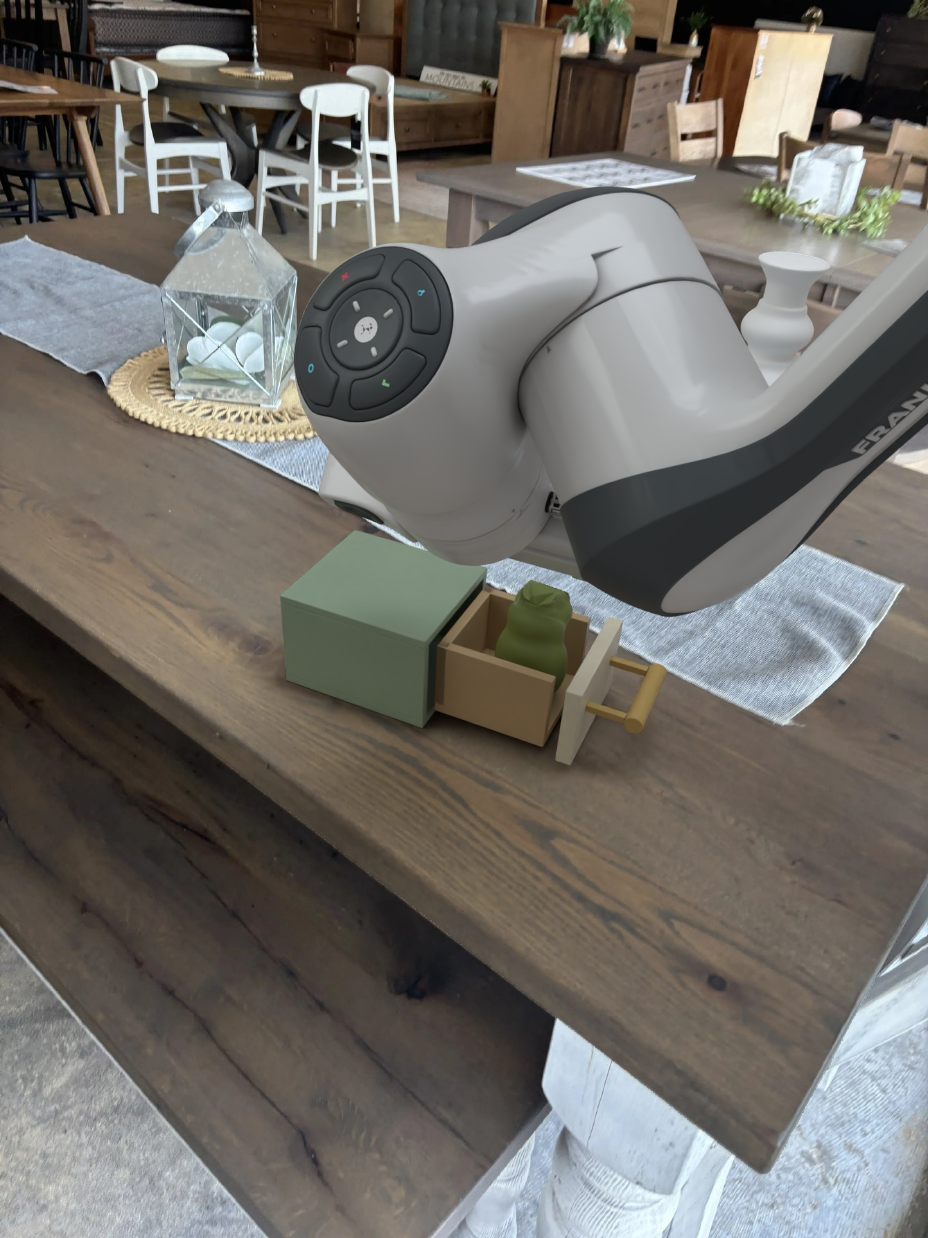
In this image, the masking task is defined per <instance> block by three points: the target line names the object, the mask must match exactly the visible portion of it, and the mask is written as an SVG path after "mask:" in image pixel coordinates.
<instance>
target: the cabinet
mask: <svg viewBox="0 0 928 1238" xmlns="http://www.w3.org/2000/svg"><path fill="white" fill-rule="evenodd" d="M487 577H488V567H487V566H484V565H481V566H465V565H458V564H454V563H450V562H448V561H445V560H443V559H441V558H439V557H437V556H435V555H433V554H432V553H430V552H429V551H428V550H427V549H424V548H419V547H416V546H412V545H409V544H405V543H402V542H399V541H395V540H392V539H388V538H386V537H385V538H384V537H381V536H377V535H375V534H370V533H367V532H364V531H360V530H356V529H354V530H353V531H352V532H350V533H349V534H348V535H347V536H346V537H345V538H344V539H343V540H341V541H340V542H339V543H337V545H336V546H334V547H333V548H332V549H331V550H330V551H329V552H327V554H325V555H324V556H323V557H322V558H320V560H319V561H317V562H316V563H315V564H314V565H313V566H311V568H309V569H308V570H307V571H306V572H305V573H304V574H302V575H301V576H300V577H299V578H298V579H297V580H296V581H294V582H293V584H291V585H290V586H289V587H288V588H286V589H285V590H284V591H283V592H282V593H281V594H280V595H279V599H280V600H279V601H280V602H279V603H280V614H281V627H282V640H283V652H284V665H285V666H284V667H285V680H286V681H288V682H290V683H293V684H295V685H299V686H301V687H305V688H307V689H310V690H313V691H316V692H318V693H321V694H325V695H327V696H330V697H333V698H335V699H338V700H341V701H344V702H347V703H349V704H353V705H355V706H358V707H361V708H364V709H366V710H370V711H372V712H375V713H378V714H381V715H383V716H387V717H389V718H392V719H395V720H398V721H401V722H403V723H406V724H410V725H412V726H414V727H417V728H421V729H423V728H424V727H425V725H426V724H427V723H428V721H429V720H430V719H431V717H432V716H433V714H434V713H435V712H436V710H435V684H436V662H437V645H438V644H439V643H440V642H441V641H442V639H443V638H444V637H445V636H446V634H447V633H448V632H449V631H450V629H451V628H452V627H453V626H454V624H455V623H456V622H457V621H458V620H459V618H460V617H461V616H462V615H463V613H464V612H465V611H466V610H467V608H468V607H469V606H470V605H471V604H472V602H473V601H474V600H475V599H476V597H477V596H478V595H479V594H480V592H481V591H482V590H483V589H484V587H487V579H488V578H487Z"/></svg>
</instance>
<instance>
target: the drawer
mask: <svg viewBox="0 0 928 1238" xmlns="http://www.w3.org/2000/svg"><path fill="white" fill-rule="evenodd" d="M516 595H517V594H516ZM516 595H515V594H513V593H512V594H511V593H509V592H506V591H502V590H499V589H495V588H492V587H489V586H486V587H484V589H483V590H482V591H481V592H480V594H479V595H478V596H477V597H476V599H475V600H474V601H473V602H472V604H471V605H470V606H469V607H468V608H467V610H466V611H465V612H464V613H463V615H462V616H461V617H460V618H459V620H458V621H457V622H456V623H455V624H454V626H453V627H452V628H451V629H450V631H449V632H448V633H447V634H446V636H445V637H444V638H443V639H442V641H441V642H440V643H439V644H438V645H437V662H436V684H435V712H439V713H442V714H445V715H448V716H451V717H454V718H457V719H459V720H461V721H462V720H463V721H466V722H468V723H472V724H474V725H477V726H480V727H483V728H485V729H489V730H490V731H491V730H492V731H495V732H498V733H500V734H503V735H506V736H509V737H511V738H514V739H518V740H520V741H523V742H526V743H529V744H532V745H535V746H537V747H541V748H543V747H544V746H545V744H546V742H547V741H548V739H549V737H550V736H551V734H552V733H553V730H554V728H555V726H556V725H557V722H558V721H559V719H560V717H561V722H560V728H559V733H558V738H557V739H558V740H557V747H556V753H555V761H557V762H559V763H561V764H565V765H568V766H571V765H572V763H573V761H574V759H575V758H576V755H577V753H578V751H579V750H580V748H581V745H582V744H583V742H584V740H585V738H586V736H587V734H588V732H589V730H590V729H591V726H592V724H593V722H594V720H595V718H596V716H598V717H602V718H604V719H606V720H611V721H614V722H617V723H620V724H623V727H624V728H625V730H626V731H627V732H629V733H631V734H639V733H641V732H643V729H644V727H645V725H646V723H647V721H648V718H649V715H650V713H651V711H652V709H653V707H654V705H655V703H656V701H657V697H658V695H659V693H660V691H661V688H662V686H663V684H664V682H665V679H666V678H667V677H666V676H667V674H668V671H667V669H666V667H665V666H664V665H663V664H660V663H653V664H650V666H648V665H644V664H641V663H637V662H634V661H631V660H628V659H625V658H621V657H618V650H619V645H620V641H621V640H620V639H621V635H622V629H623V625H624V620H623V619H619V618H615V617H612V616H608V617H607V619H606V620H605V622H604V624H603V625H602V627H601V629H600V631H599V633H598V634H597V636H596V638H595V640H594V641H593V643H592V645H591V646H590V648H589V650H588V652H587V654H586V650H587V646H588V645H587V644H588V639H589V632H590V627H591V621H592V620H591V619H592V617H591V616H587V615H585V614H580V613H577V612H574V611H573V614H572V617H571V619H570V621H569V622H568V624H567V625H566V628H565V634H564V645H565V647H566V651H567V655H568V664H567V672H566V675H565V678H564V681H563V683H562V685H561V686H560V688H559V689H558V690H557V691H556V692H555V693H554V694H553V692H554V685H555V678H556V677H555V676H553V675H549V674H546V673H543V672H540V671H537V670H534V669H531V668H527V667H524V666H521V665H518V664H515V663H512V662H509V661H505V660H502V659H499V658H496V657H495V650H496V644H497V641H498V638H499V636H500V635H501V633H502V631H503V630H504V629H505V627H506V625H507V620H508V611H509V608H510V605H511V604H512V603H514V601H515V597H516ZM615 668H616V669H620V670H623V671H626V672H630V673H633V674H636V675H640V676H643V680H642V681H641V684H640V686H639V687H638V691H637V692H636V695H635V697H634V699H633V700H632V701H633V702H632V703H631V706H630V708H629V710H628V712H624V711H621V710H618V709H615V708H612V707H609V706H605V705H603V702H604V701H605V698H606V696H607V695H608V693H609V690H610V688H611V687H612V682H613V676H614V670H615Z"/></svg>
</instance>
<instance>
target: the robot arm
mask: <svg viewBox="0 0 928 1238" xmlns="http://www.w3.org/2000/svg"><path fill="white" fill-rule="evenodd" d="M724 300H725V298H724V296H723V293H722V291H721V289H720V287H719V286H718V284H717V282H716V280H715V279H714V277H713V275H712V273H711V270H710V269H709V268H708V265H707V263H706V262H705V260H704V258H703V256H702V254H701V252H700V250H699V249H698V246H697V245H696V243H695V242H694V240H693V238H692V237H691V234H690V233H689V231H688V229H687V228H686V227H685V224H684V223H683V221H682V219H681V217H680V214H679V212H678V210H677V209H676V208H675V207H674V206H673V204H671V203H670V202H669V201H668V200H667V199H665V198H663V197H661V196H659V195H657V194H654V193H651V192H648V191H646V190H642V189H639V188H638V189H637V188H634V187H633V188H632V187H627V186H626V187H625V186H615V185H614V186H612V185H611V186H609V185H608V186H607V185H606V186H592V187H591V186H590V187H584V188H578V189H574V190H569V191H563V192H560V193H556V194H553V195H551V196H549V197H546V198H543V199H541V200H539V201H536V202H534V203H532V204H530V205H527V206H525V207H523V208H521V209H520V210H517V211H516V212H514V213H512V214H510V215H509V216H508V217H506V218H504V219H503V220H501V221H500V222H498V223H497V224H496V225H493V227H490V229H488V230H487V231H486V232H484V234H482V235H481V236H479V237H478V238H477V240H474V242H473V243H472V244H471V245H469V246H463V247H450V248H445V247H437V246H431V245H426V244H421V243H415V242H390V243H384V244H379V245H375V246H372V247H369V248H367V249H364V250H362V251H360V252H357V253H356V254H354V255H352V256H350V257H349V258H347V259H346V260H344V261H343V262H342V263H340V264H338V265H337V266H335V268H334V269H333V270H332V271H330V273H328V275H326V277H325V278H324V279H323V280H322V281H321V283H320V284H319V285H318V286H317V288H316V289H315V291H314V292H313V294H312V296H311V297H310V299H309V301H308V302H307V305H306V307H305V309H304V311H303V313H302V316H301V320H300V322H299V325H298V329H297V332H296V337H295V342H294V351H293V369H294V370H293V372H294V373H293V374H294V381H295V387H296V391H297V395H298V399H299V402H300V405H301V407H302V409H303V412H304V414H305V417H306V418H307V420H308V422H309V424H310V426H311V427H312V429H313V430H314V432H315V434H316V435H317V436H318V438H319V439H320V441H321V442H322V443H323V445H324V447H325V448H326V449H327V450H328V451H329V452H328V456H327V458H326V462H325V465H324V467H323V472H322V475H321V479H320V483H319V487H318V491H317V494H318V497H320V498H321V499H322V501H324V502H325V503H327V504H328V505H329V506H331V507H333V508H335V509H339V510H340V511H343V512H346V513H348V514H351V515H354V516H357V517H360V518H363V519H366V520H368V521H370V522H373V523H376V524H378V525H380V526H385V527H387V528H389V529H391V530H392V531H394V532H396V533H397V534H398V535H400V536H402V537H404V538H405V539H406V540H407V541H408V542H411V543H414V544H417V543H419V544H420V545H421V546H422V547H423V549H424V550H427V551H429V552H430V553H432V554H433V555H435V556H437V557H439V558H441V559H443V560H445V561H448V562H450V563H454V564H458V565H465V566H488V565H491V564H496V563H499V562H501V561H504V560H506V559H510V560H513V561H516V562H517V561H518V562H521V563H523V564H528V565H530V566H535V567H539V568H542V569H545V570H549V571H552V572H556V573H560V574H562V575H566V576H570V577H571V578H572V579H574V580H575V579H576V580H577V581H578V580H579V581H581V582H585V583H588V584H589V585H591V586H593V587H594V588H595V589H597V590H599V591H601V592H603V593H605V594H606V595H607V596H610V597H612V598H614V599H616V600H618V601H620V602H622V603H624V604H626V605H628V606H631V607H632V608H633V607H634V608H636V609H638V610H641V611H643V612H646V613H650V614H653V615H656V616H660V617H664V618H674V617H676V618H677V617H682V616H686V615H690V614H692V613H695V612H699V611H701V610H704V609H707V608H710V607H713V606H718V605H720V604H722V603H724V602H727V601H729V600H731V599H734V598H736V597H737V596H740V595H741V594H742V593H745V592H746V591H749V590H750V589H751V588H753V587H754V586H756V585H757V584H758V583H760V582H761V581H762V580H763V579H765V578H766V577H768V576H769V575H770V574H772V572H774V570H775V569H776V568H777V567H779V566H780V565H781V564H782V563H783V562H785V561H786V560H787V559H788V558H789V557H790V556H792V555H793V554H794V553H795V552H796V551H797V550H798V549H799V548H801V546H802V545H803V544H804V543H805V542H806V541H807V540H809V538H810V537H811V536H812V535H813V534H814V533H815V531H817V529H818V528H819V527H820V526H821V525H822V524H823V523H824V522H825V521H826V520H827V519H828V518H829V517H830V515H831V514H832V513H833V512H834V511H835V510H836V509H837V508H838V507H839V506H840V505H841V503H843V501H844V500H845V499H846V498H847V497H848V496H849V495H850V494H851V493H853V491H854V490H855V489H856V488H858V486H859V485H860V484H862V483H863V482H864V481H865V480H866V479H867V478H868V477H869V476H871V474H872V473H874V472H875V471H876V470H878V468H880V467H881V465H883V464H884V463H885V462H886V461H887V460H889V459H890V458H891V457H892V456H893V455H894V454H895V453H897V452H898V451H899V450H900V449H901V448H902V447H903V446H904V445H905V444H907V443H908V442H909V441H910V440H911V439H913V437H915V436H916V435H917V434H918V433H919V432H921V431H922V430H923V429H924V428H925V427H926V426H928V222H927V223H926V224H925V226H923V228H922V229H921V230H920V231H919V233H917V235H916V236H915V237H913V239H912V240H911V241H910V242H909V243H908V244H907V245H906V246H905V247H904V248H903V249H902V250H901V251H900V253H898V254H897V255H896V257H894V258H893V259H892V260H891V261H890V262H889V263H888V265H887V266H886V267H885V268H884V269H883V270H882V271H881V272H880V273H879V274H878V275H877V276H876V277H875V278H874V279H872V281H871V282H870V283H869V284H868V285H867V286H866V287H865V288H864V289H863V291H861V292H860V293H859V294H858V296H856V297H855V298H854V299H853V301H852V302H851V303H849V305H848V306H847V307H846V308H845V309H844V310H843V311H842V312H840V314H839V315H837V317H836V318H835V319H834V320H833V321H832V322H831V323H830V324H829V325H828V326H827V327H826V328H825V329H824V330H823V331H822V332H821V333H820V334H819V335H818V337H816V339H815V340H814V341H813V342H811V344H810V345H808V347H806V349H805V350H803V352H802V353H801V354H800V355H799V356H797V357H798V358H797V359H796V360H795V361H794V362H793V363H792V364H791V365H790V366H789V367H788V368H787V369H786V370H785V371H784V373H783V374H782V375H781V376H780V377H779V378H778V379H777V380H776V381H775V382H774V383H773V384H772V385H771V386H770V387H769V386H768V384H767V382H766V380H765V378H764V377H763V375H762V373H761V371H760V369H759V367H758V365H757V363H756V362H755V360H754V358H753V356H752V354H751V352H750V350H749V349H748V344H747V342H746V340H745V339H744V337H743V335H742V333H741V331H740V330H739V328H738V325H737V324H736V323H735V321H734V319H733V317H732V314H731V313H730V311H729V309H728V307H727V306H726V304H725V302H724Z"/></svg>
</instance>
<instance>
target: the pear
mask: <svg viewBox="0 0 928 1238" xmlns="http://www.w3.org/2000/svg"><path fill="white" fill-rule="evenodd" d="M573 610H574V609H573V606H572V603H571V596H570V593H569V592H568V591H566V590H562V589H560V588H557V587H554V586H550V585H549V584H545V583H542V582H539V581H536V580H533V579H530V580H528V582H527V583H525V584H523V586H522V587H521V588H520V589H519V590H518V591H517V593H516V597H515V601H514V603H512V604H511V605H510V608H509V611H508V620H507V625H506V627H505V629H504V630H503V631H502V633H501V635H500V636H499V638H498V641H497V644H496V650H495V657H496V658H499V659H502V660H505V661H509V662H512V663H515V664H518V665H521V666H524V667H527V668H531V669H534V670H537V671H540V672H543V673H546V674H549V675H553V676H555V677H556V678H555V685H554V692H553V694H554V693H555V692H556V691H557V690H558V689H559V688H560V686H561V685H562V683H563V681H564V678H565V675H566V672H567V664H568V655H567V651H566V647H565V645H564V634H565V628H566V625H567V624H568V622H569V621H570V619H571V617H572V614H573V612H574V611H573Z"/></svg>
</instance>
